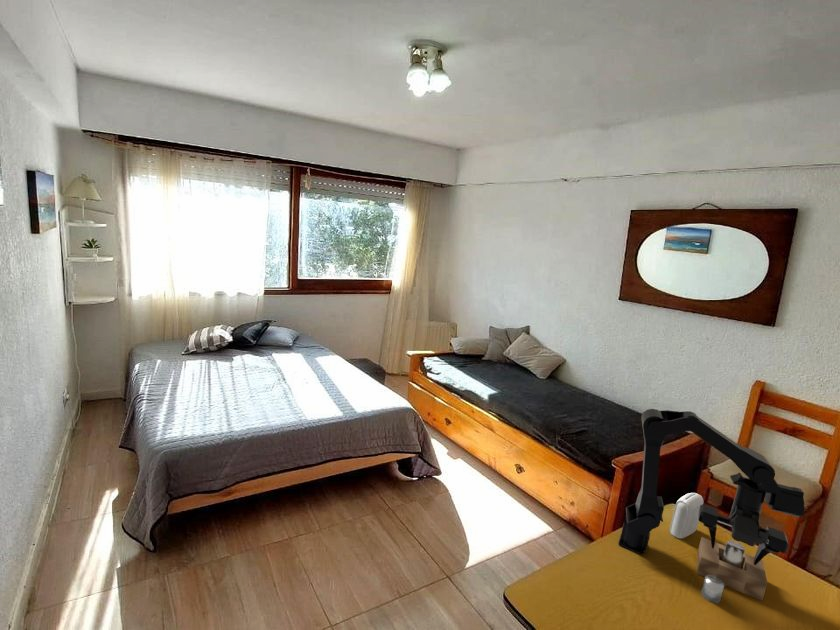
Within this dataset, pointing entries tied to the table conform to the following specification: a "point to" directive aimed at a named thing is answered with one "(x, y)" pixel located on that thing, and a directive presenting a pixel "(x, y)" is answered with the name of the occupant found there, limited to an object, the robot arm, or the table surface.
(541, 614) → the table surface
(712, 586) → the short pin
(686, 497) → the white rounded printed block
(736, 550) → the silver upright cylinder
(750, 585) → the hole board
